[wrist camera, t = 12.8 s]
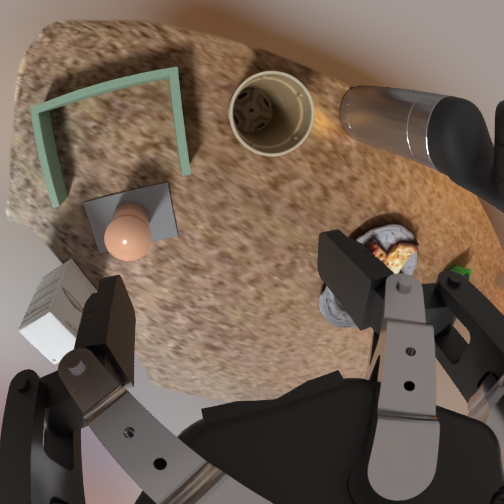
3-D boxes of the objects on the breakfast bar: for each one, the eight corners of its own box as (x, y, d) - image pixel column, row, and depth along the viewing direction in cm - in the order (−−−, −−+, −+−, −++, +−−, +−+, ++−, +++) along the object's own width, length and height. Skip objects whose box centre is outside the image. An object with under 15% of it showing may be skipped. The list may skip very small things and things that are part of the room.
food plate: (357, 205, 47) (370, 214, 44) (426, 233, 57) (437, 241, 54) (299, 318, 58) (306, 330, 55) (374, 320, 67) (381, 330, 64)
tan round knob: (147, 195, 36) (145, 212, 31) (155, 234, 39) (155, 255, 35) (106, 204, 35) (98, 222, 30) (116, 242, 38) (111, 264, 33)
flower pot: (243, 62, 31) (266, 53, 24) (297, 104, 36) (329, 107, 29) (200, 118, 34) (210, 123, 27) (257, 156, 39) (281, 172, 31)
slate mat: (167, 182, 37) (167, 182, 36) (177, 235, 41) (178, 236, 41) (83, 202, 34) (83, 202, 34) (99, 253, 38) (99, 253, 38)
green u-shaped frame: (176, 70, 30) (177, 66, 26) (188, 167, 36) (190, 174, 33) (42, 106, 26) (30, 108, 23) (62, 197, 33) (52, 208, 29)
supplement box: (100, 291, 41) (89, 350, 31) (68, 309, 41) (53, 366, 30) (72, 255, 37) (50, 311, 27) (41, 276, 37) (16, 331, 26)
